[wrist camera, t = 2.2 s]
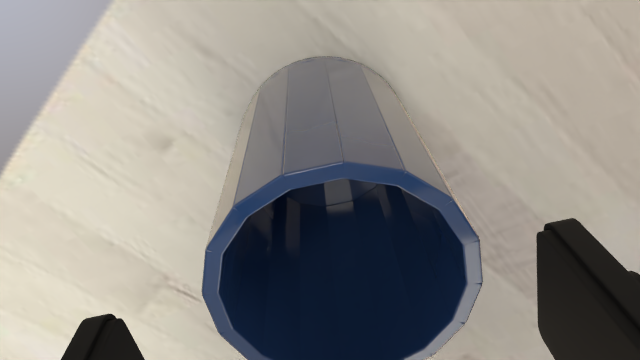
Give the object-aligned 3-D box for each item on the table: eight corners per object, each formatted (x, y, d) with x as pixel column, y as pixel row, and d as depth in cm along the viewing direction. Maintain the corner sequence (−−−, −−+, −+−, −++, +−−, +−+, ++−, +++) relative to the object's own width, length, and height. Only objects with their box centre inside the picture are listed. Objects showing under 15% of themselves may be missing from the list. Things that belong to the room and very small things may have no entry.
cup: (393, 38, 17) (472, 134, 10) (415, 189, 20) (489, 359, 12) (221, 77, 18) (160, 200, 10) (267, 220, 21) (248, 403, 13)
